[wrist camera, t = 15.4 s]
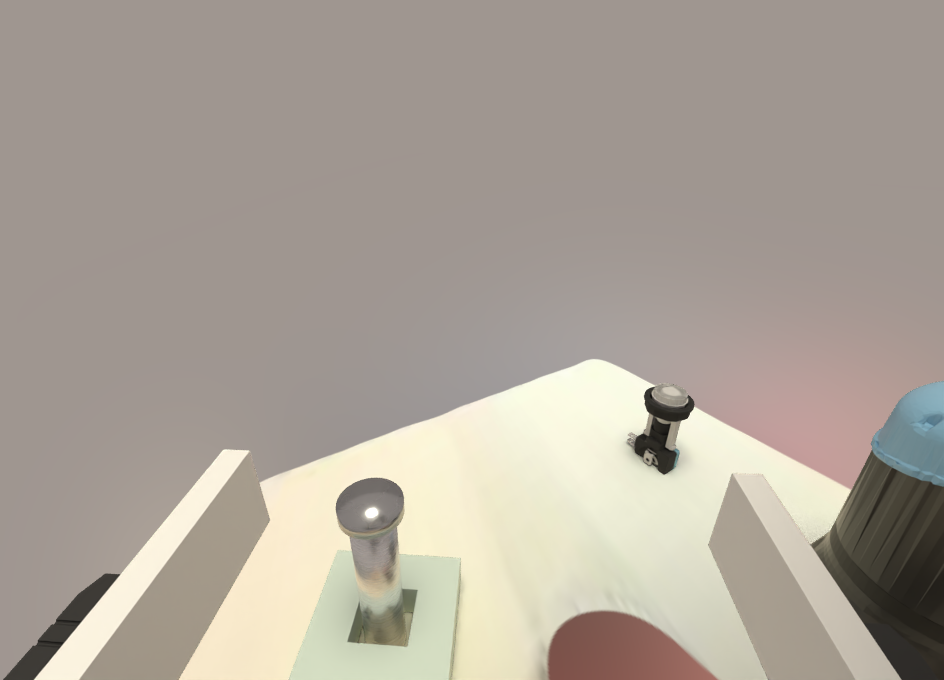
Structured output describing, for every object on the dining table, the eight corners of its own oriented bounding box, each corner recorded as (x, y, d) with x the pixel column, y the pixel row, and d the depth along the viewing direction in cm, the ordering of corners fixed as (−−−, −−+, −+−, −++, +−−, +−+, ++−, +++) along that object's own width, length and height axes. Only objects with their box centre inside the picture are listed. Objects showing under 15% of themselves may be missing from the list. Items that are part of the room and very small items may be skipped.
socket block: (460, 580, 42) (460, 557, 41) (446, 724, 32) (446, 700, 31) (341, 572, 43) (337, 550, 41) (292, 711, 33) (285, 688, 31)
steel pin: (417, 614, 39) (409, 479, 32) (407, 670, 35) (396, 530, 29) (366, 610, 39) (347, 476, 33) (351, 665, 35) (326, 526, 29)
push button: (614, 450, 58) (627, 382, 54) (641, 435, 61) (655, 370, 57) (659, 481, 54) (677, 410, 49) (686, 464, 56) (706, 395, 52)
